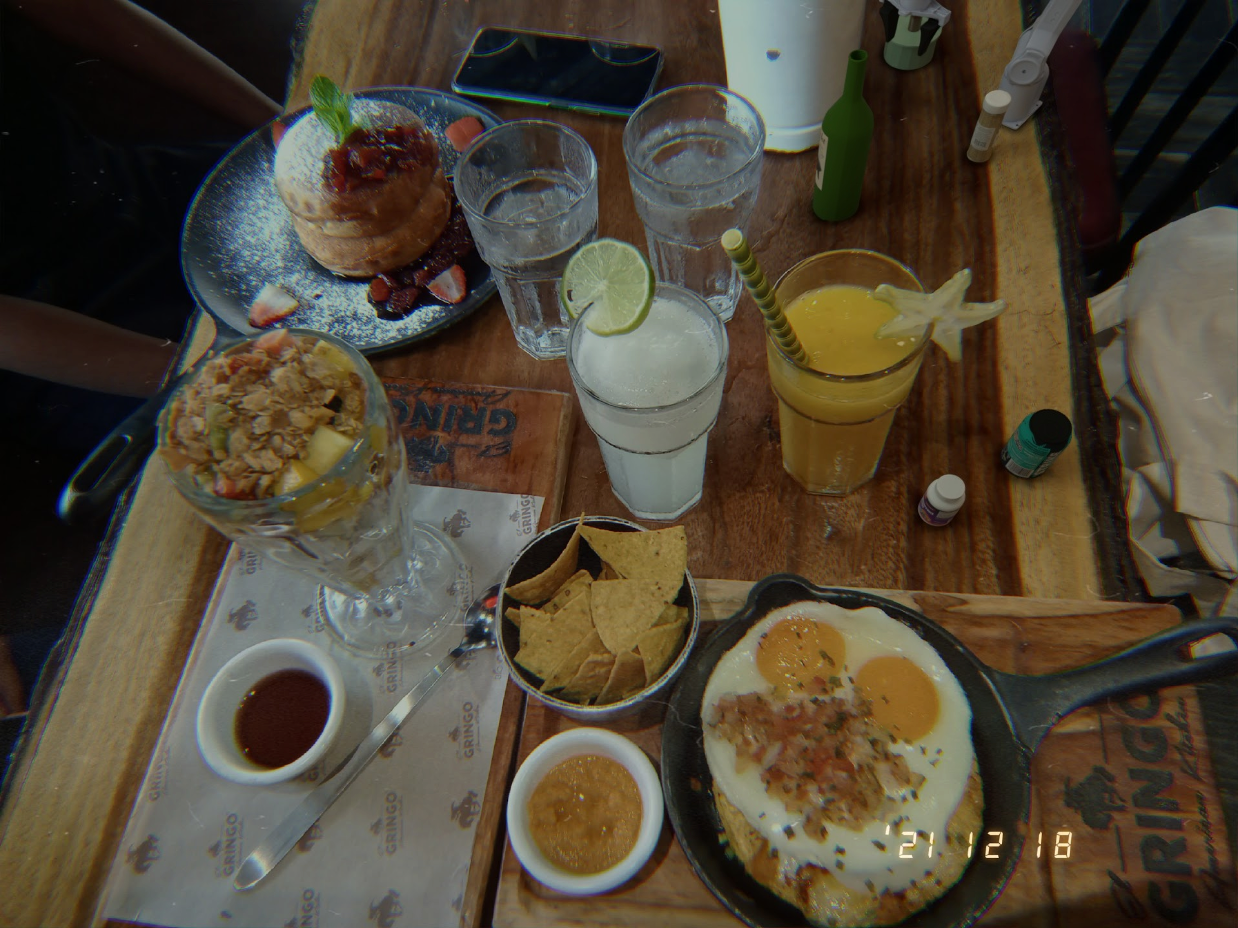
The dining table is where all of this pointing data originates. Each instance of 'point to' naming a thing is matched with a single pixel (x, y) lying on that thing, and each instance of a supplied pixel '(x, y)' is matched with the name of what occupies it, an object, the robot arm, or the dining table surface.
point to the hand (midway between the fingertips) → (905, 46)
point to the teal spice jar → (1036, 443)
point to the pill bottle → (942, 500)
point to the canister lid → (911, 31)
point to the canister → (907, 56)
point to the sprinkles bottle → (988, 125)
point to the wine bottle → (844, 147)
